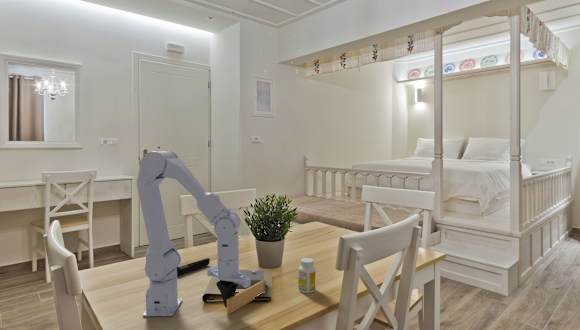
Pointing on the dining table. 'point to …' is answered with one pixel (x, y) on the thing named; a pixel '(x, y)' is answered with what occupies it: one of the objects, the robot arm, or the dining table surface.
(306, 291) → the supplement bottle
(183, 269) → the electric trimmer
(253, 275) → the camera body
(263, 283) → the side door
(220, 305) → the dining table surface
